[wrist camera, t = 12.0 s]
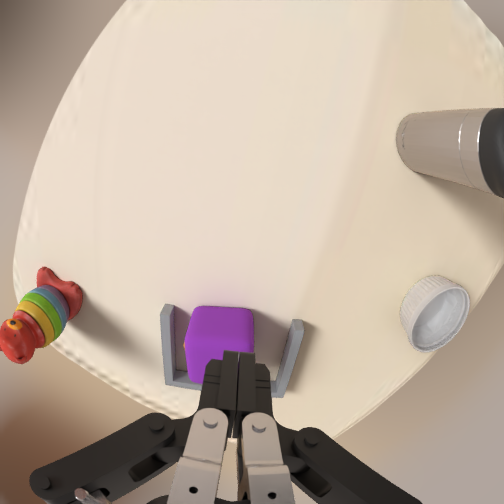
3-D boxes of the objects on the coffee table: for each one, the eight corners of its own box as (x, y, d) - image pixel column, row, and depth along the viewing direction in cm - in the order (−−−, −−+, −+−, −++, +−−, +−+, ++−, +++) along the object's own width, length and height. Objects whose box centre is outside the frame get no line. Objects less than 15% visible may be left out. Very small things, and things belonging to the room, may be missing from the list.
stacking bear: (84, 287, 42) (27, 349, 25) (80, 327, 45) (36, 389, 28) (40, 262, 40) (-21, 311, 23) (39, 304, 43) (-10, 355, 27)
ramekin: (440, 254, 40) (463, 270, 34) (456, 301, 44) (474, 319, 37) (383, 300, 43) (400, 323, 36) (406, 341, 47) (421, 364, 40)
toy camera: (202, 365, 48) (194, 407, 38) (182, 303, 43) (167, 344, 33) (261, 361, 47) (263, 403, 38) (250, 296, 42) (251, 337, 33)
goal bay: (301, 319, 44) (304, 330, 41) (281, 386, 50) (283, 397, 47) (165, 303, 43) (160, 314, 40) (168, 373, 49) (165, 384, 46)
